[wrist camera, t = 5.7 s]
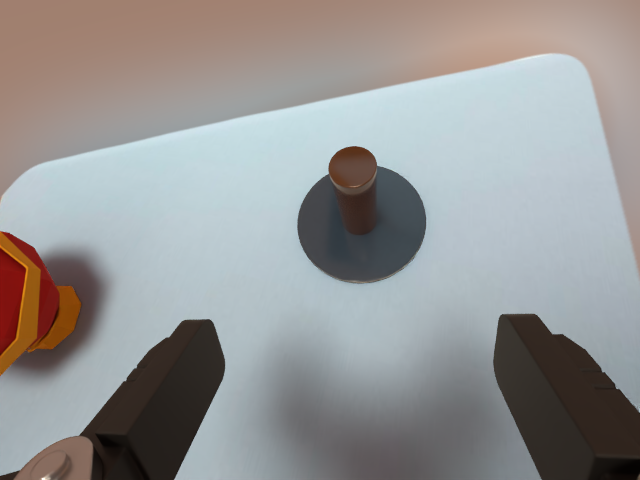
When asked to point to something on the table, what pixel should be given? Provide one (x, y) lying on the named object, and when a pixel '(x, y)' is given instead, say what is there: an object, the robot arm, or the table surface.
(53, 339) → the potion bottle
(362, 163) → the lid
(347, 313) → the table surface
